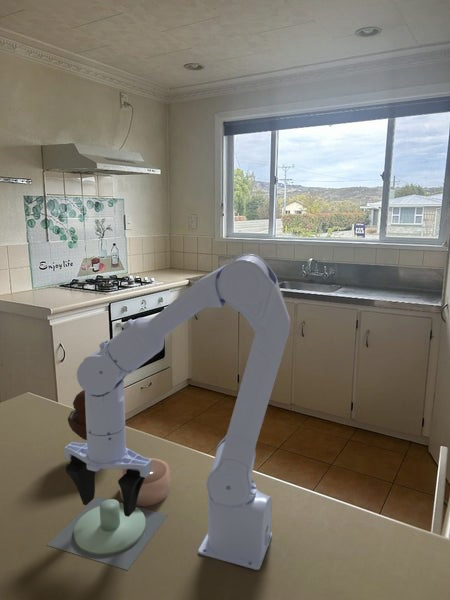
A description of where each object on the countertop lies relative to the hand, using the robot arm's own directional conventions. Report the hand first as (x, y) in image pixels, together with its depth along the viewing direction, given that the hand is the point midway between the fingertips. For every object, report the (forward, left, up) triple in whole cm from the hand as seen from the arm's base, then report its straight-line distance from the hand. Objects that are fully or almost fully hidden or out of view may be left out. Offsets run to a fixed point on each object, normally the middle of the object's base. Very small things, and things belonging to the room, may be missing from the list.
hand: (109, 506), depth 71 cm
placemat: (0, 0, -4) cm, 4 cm away
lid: (0, 0, -4) cm, 4 cm away
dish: (0, -11, -4) cm, 12 cm away
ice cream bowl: (+15, -18, -4) cm, 24 cm away
